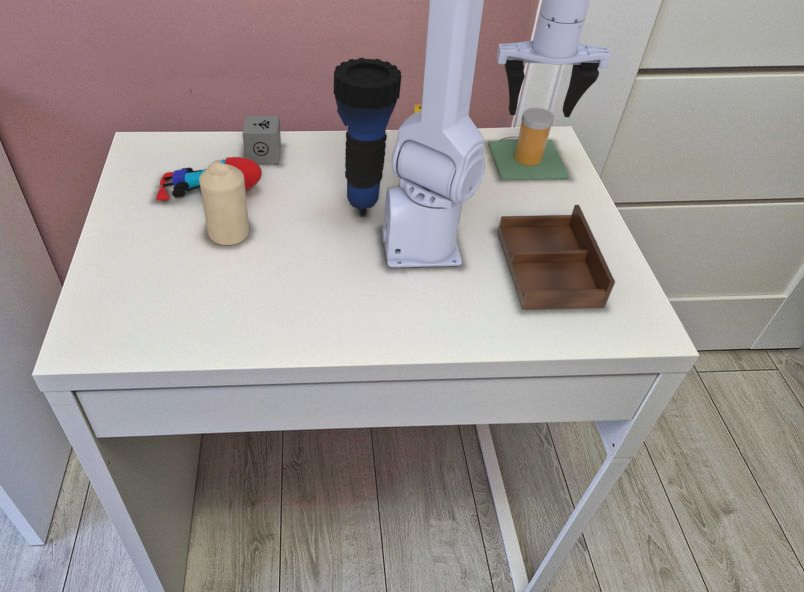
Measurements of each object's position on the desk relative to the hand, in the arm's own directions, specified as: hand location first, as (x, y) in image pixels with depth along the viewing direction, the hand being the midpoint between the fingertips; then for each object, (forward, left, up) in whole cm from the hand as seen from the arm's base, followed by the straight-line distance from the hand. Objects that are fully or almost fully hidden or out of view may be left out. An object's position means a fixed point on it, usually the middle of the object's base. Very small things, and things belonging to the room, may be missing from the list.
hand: (538, 112), depth 99 cm
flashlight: (-26, -12, -8) cm, 30 cm away
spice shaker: (0, 0, -8) cm, 8 cm away
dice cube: (-40, +3, -8) cm, 41 cm away
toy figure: (-47, -6, -8) cm, 48 cm away
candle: (-44, -16, -8) cm, 47 cm away
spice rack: (-3, -24, -8) cm, 26 cm away
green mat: (0, 0, -8) cm, 8 cm away
